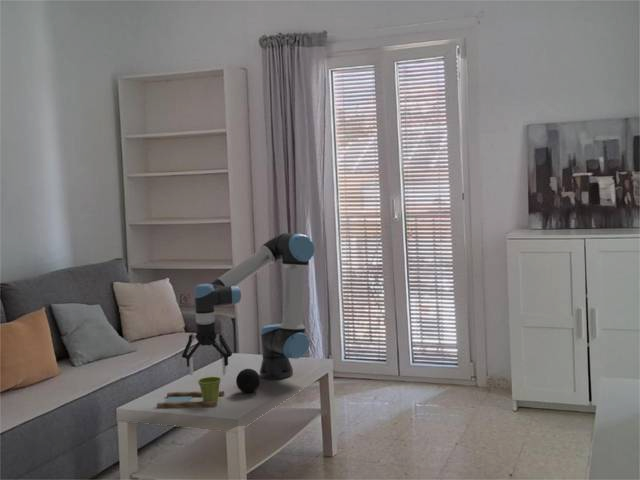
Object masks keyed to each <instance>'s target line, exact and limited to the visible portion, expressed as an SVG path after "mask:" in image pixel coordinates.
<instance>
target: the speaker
mask: <svg viewBox="0 0 640 480" xmlns="http://www.w3.org/2000/svg"><path fill="white" fill-rule="evenodd" d="M235 382H236V386H237V388H238V390H240V392H243V393H245V394H250V393H254V392H255V391H256V390H257V389H258V388H259V387H260V384H261V377H260V374H259V373H258V372H257V371H256V370H255V369H252V368H244V369H242V370H240V372H238V374H237V376H236V380H235Z"/></svg>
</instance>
